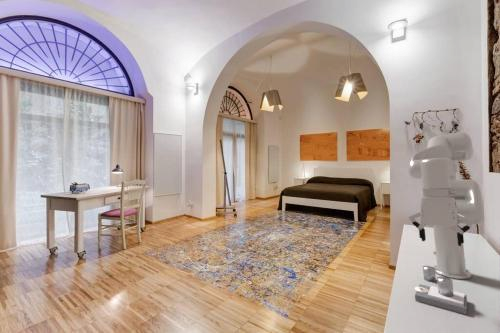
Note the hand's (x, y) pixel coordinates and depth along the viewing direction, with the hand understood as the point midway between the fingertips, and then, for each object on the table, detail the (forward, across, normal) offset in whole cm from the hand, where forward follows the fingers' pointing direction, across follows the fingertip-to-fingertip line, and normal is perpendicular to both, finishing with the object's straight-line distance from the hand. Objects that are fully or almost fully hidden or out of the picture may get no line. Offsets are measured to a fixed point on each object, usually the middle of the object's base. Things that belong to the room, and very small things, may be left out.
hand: (441, 242), depth 79 cm
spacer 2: (+17, 0, 0) cm, 17 cm away
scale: (+20, +2, 0) cm, 20 cm away
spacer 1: (+20, +6, -17) cm, 27 cm away
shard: (+21, +4, -52) cm, 56 cm away
